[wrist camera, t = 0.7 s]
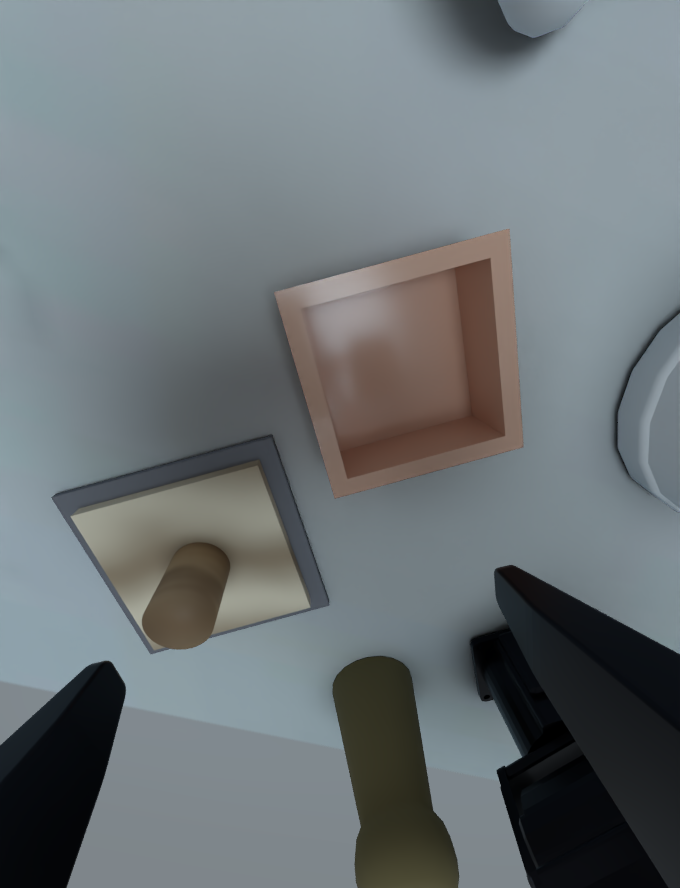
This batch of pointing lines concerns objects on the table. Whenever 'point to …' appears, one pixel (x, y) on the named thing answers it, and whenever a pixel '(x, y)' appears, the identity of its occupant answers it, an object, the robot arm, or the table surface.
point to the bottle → (654, 418)
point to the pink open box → (409, 362)
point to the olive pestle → (390, 780)
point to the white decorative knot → (539, 14)
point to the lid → (197, 555)
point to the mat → (192, 468)
